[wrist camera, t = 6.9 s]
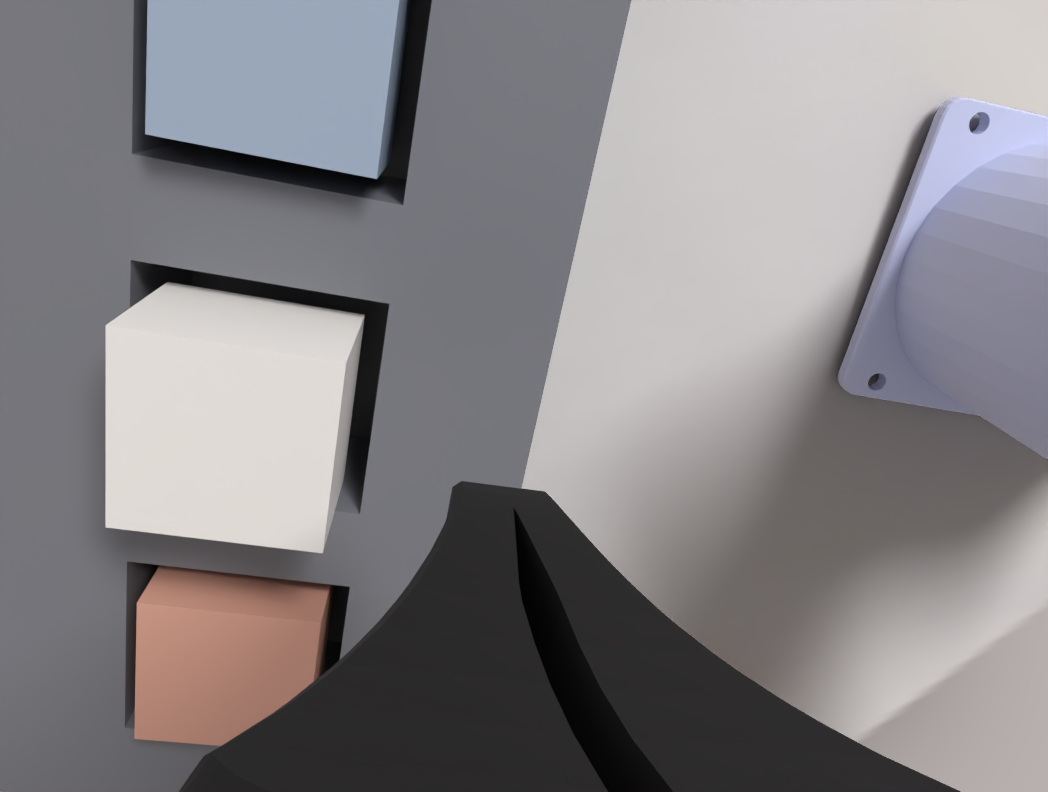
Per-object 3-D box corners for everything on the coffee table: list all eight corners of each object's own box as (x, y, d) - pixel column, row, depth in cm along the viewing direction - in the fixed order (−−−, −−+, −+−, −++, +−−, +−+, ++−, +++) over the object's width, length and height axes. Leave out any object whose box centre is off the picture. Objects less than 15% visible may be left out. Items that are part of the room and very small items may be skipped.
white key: (364, 314, 16) (346, 363, 13) (343, 479, 18) (323, 553, 15) (167, 281, 16) (105, 325, 13) (162, 454, 17) (105, 527, 14)
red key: (339, 548, 20) (321, 622, 18) (323, 667, 22) (304, 752, 19) (181, 529, 20) (136, 603, 17) (176, 652, 21) (134, 739, 18)
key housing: (623, -138, 17) (677, -208, 13) (447, 701, 25) (445, 822, 21) (38, -294, 15) (-121, -436, 11) (62, 665, 24) (-21, 790, 20)
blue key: (416, -44, 15) (408, -71, 12) (389, 162, 17) (376, 178, 14) (207, -93, 15) (150, -133, 12) (198, 124, 16) (144, 133, 13)
